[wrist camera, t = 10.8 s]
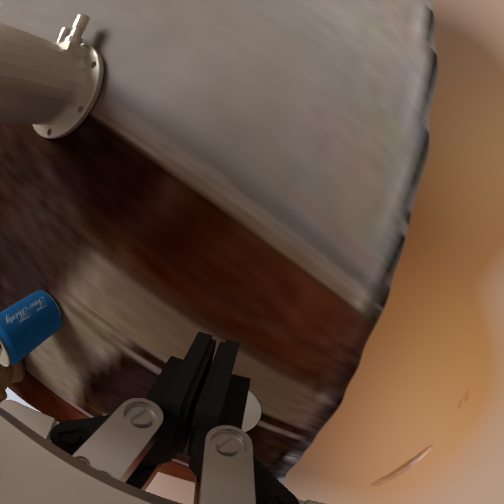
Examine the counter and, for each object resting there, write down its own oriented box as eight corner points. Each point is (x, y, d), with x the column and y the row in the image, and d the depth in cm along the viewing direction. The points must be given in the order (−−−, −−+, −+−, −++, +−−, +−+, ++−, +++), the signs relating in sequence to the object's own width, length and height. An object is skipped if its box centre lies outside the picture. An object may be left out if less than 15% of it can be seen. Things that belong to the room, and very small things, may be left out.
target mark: (176, 363, 32) (175, 364, 32) (272, 389, 31) (272, 390, 31) (171, 419, 35) (170, 420, 35) (249, 441, 35) (249, 442, 34)
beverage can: (68, 308, 32) (11, 351, 20) (60, 336, 34) (11, 378, 22) (39, 279, 32) (-20, 312, 20) (33, 308, 33) (-18, 343, 22)
